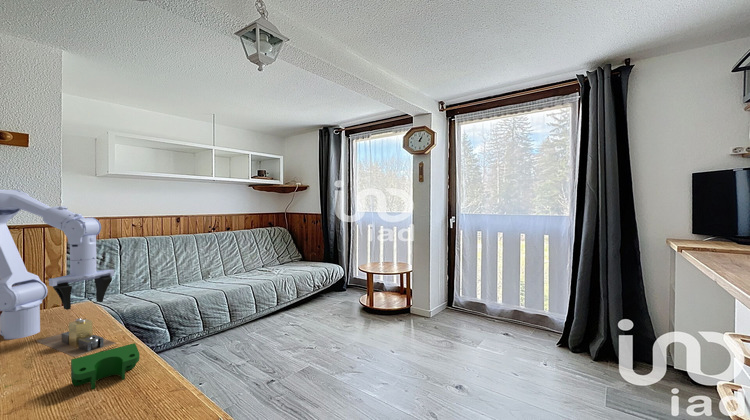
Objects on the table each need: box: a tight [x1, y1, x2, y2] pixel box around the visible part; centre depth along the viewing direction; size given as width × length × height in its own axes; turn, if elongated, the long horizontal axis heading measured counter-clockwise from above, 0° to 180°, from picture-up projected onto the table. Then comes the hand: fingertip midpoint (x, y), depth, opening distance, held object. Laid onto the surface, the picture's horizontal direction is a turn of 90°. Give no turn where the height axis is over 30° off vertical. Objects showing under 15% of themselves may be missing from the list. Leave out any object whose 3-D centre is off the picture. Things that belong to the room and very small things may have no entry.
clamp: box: [70, 342, 141, 390], centre depth 71 cm, size 12×6×9 cm, turn 131°
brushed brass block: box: [68, 318, 94, 348], centre depth 87 cm, size 4×4×7 cm
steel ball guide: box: [60, 330, 105, 353], centre depth 87 cm, size 14×3×2 cm, turn 65°
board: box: [35, 333, 118, 358], centre depth 89 cm, size 22×9×1 cm, turn 65°
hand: (84, 305), depth 94 cm, fingers open, 7 cm apart
